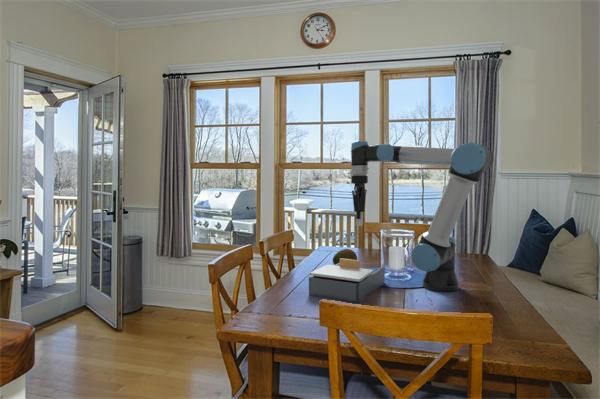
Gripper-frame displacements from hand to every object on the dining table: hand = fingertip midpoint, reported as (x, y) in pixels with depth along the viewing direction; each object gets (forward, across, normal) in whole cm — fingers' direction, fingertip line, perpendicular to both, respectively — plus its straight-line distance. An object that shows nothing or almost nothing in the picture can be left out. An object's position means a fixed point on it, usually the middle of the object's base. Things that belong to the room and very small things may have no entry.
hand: (359, 225), depth 182 cm
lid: (+18, -20, 0) cm, 27 cm away
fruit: (+27, +22, +17) cm, 39 cm away
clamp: (+26, -21, 0) cm, 33 cm away
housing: (+26, -13, 0) cm, 29 cm away
